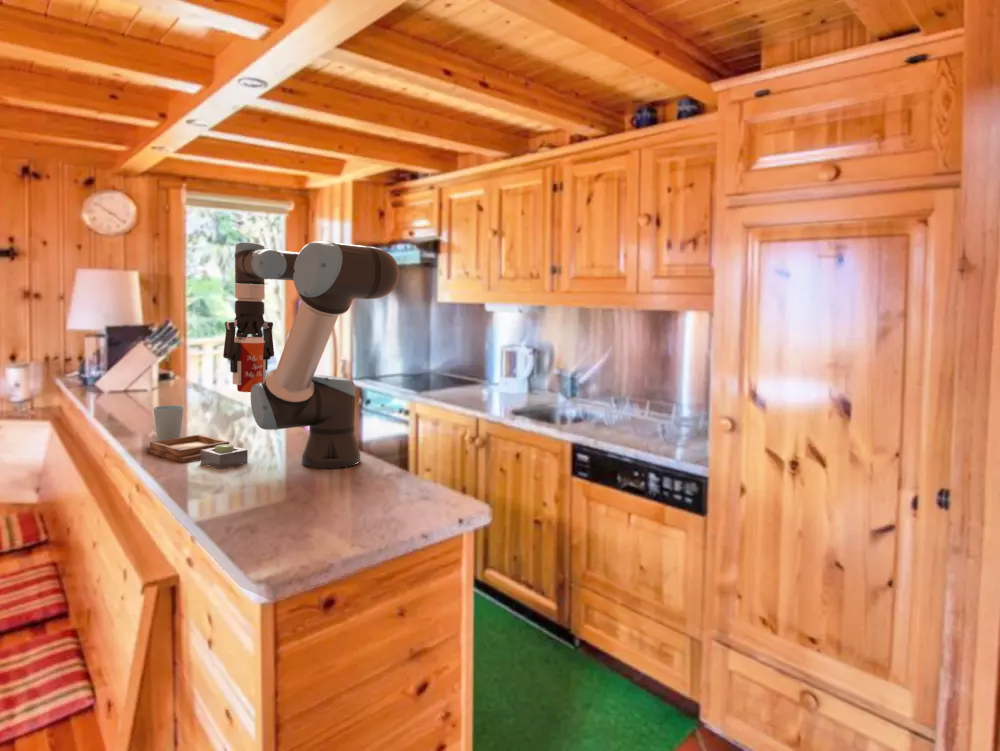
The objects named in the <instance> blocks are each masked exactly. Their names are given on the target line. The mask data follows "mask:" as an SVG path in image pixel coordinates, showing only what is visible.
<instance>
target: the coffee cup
mask: <svg viewBox="0 0 1000 751" xmlns="http://www.w3.org/2000/svg"><path fill="white" fill-rule="evenodd" d="M238 338H239V337H236V335H235V341H234V342H237V343H241V353H240V356H239V359H238V361H241V385H236V388H237V390H236V391H237V392H240V393H251V389H252V386H253V385H254V384H258V383H262V382H261V379H262V365H263V350H264V343H265V341H264V337H263V336H262V337H254V336H252V335H248V336H247V337H245V338H244V337H242V340H240V339H238ZM240 338H241V337H240ZM244 339H245V340H244ZM240 341H241V342H240Z"/></svg>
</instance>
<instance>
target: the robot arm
mask: <svg viewBox="0 0 1000 751" xmlns="http://www.w3.org/2000/svg"><path fill="white" fill-rule="evenodd" d="M234 249H235V251H234V282H235V283H234V297H235V298H236V299H237V300H235V301H234V313H235V318H234V320H231V321H225V322H224V326H225V327H224V328H225V337H224V347H223V353H222V354H223V355H222V356H223V358H224V359H227V360H228V361H229V363H230V364H229V365H230V366H229V368H230V369H229V371H230V373H232V384H233V385H236V386H237V385H241V361H238V359H239V356H240V353H241V343H237V342H234V341H235V336H236V337H239V338H238V339H240V340H242V337H244V338H245V337H247V336H249V335H250V336H254V337H263V338H264V341H265V343H264V350H263V365H262V379H261V383H258V384H254V385H253V386H252V389H251V392H250V406H251V412H252V416H253V419H254V421H255V423H256V425H257V426H258V428H261V429H262V430H266V431H268V430H270V431H273V430H275V431H277V430H282V429H283V430H285V429H293V428H301V427H303V428H304V427H309V433H308V437H307V440H306V444H305V447H304V450H303V452H302V455H301V463H302V465H304V466H306V467H311V468H314V469H315V468H317V469H325V468H333V469H342V468H341V467H345V468H347V467H346V466H350V465H353V464H355V463H357V462H359V461H360V462H361V451H360V450H359V446H358V442H357V438H356V435H355V422H356V421H355V418H356V417H355V416H356V415H355V413H356V398H357V395H356V385H355V382H354V381H353V380H351V379H349V378H345V377H339V376H332V375H324V374H316V370H317V368H318V367H319V363H320V361H321V360H322V359H321V358H322V357H323V354H324V352H325V348H326V347H327V344H328V341H329V339H330V337H331V335H332V332H333V330H334V328H335V325H336V322H337V320H338V318H339V316H341V315H343V314H345V313H347V312H348V311H349V309H350V306H351V304H352V302H353V301H354V299H357V300H358V299H359V300H374V299H380V298H384V297H386V296H387V295H389V294H390V293H392V292H393V291H394V290H395V288H396V287H397V285H398V283H399V279H400V269H399V265H398V262H397V261H396V260H395V258H394V256H393V255H391V253H389V252H387V251H386V250H384V249H381V248H379V247H375V246H370V245H369V246H366V245H365V246H364V245H359V244H358V245H355V244H348V243H347V244H345V243H337V242H334V241H332V240H331V241H330V240H327V241H311V242H308V243H307V244H305V245H304V246H303V247H302V248H301V249H300V251H299V252H294V251H283V250H276V249H273V248H265V246H264V244H262V243H257V242H246V241H243V242H242V241H240V242H239V241H238V242H237V243H236V244H235V248H234ZM265 280H278V281H279V280H281V281H293V284H294V287H295V289H296V291H297V295H298V297H299V299H300V300H301V302H300V304H299V306H298V309H297V311H296V314H295V316H294V317H295V318H294V320H293V323H292V326H291V328H290V331H289V334H288V336H287V339H286V342H285V345H284V348H283V349H282V353H281V356H280V358H279V361H278V363H277V367H276V368H274V369H273V370H271V371H269V372H268V374H267V376H266V371H268V366H269V365H268V363H269V362H268V360H270V359H271V358H272V357H274V356H275V351H274V350H275V348H274V338H273V326H274V322H273V321H266V320H265V319H264V315H265V302H264V300H265V299H266V298H265V296H266V295H265V290H266V289H265V288H266V287H265V286H266V285H265ZM236 329H237V330H236ZM240 337H241V338H240ZM244 340H245V339H244ZM240 342H241V341H240ZM350 467H351V466H350Z"/></svg>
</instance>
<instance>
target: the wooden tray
mask: <svg viewBox="0 0 1000 751" xmlns="http://www.w3.org/2000/svg"><path fill="white" fill-rule="evenodd" d="M223 444H229V445H230V441H227V440H225V439H220V438H216V437H211V436H207V435H203V434H199V433H198V434H192V435H187V436H180V437H179V438H173V439H167V440H161V441H158V440H155V441H150V442H149V447H146V453H148V452H150V453H149V454H151V453H153V454H152V455H155V454H157V455H156V456H158V455H160V456H159V457H162V456H163V457H162V458H165V457H167V458H166V459H169V458H170V459H169V460H172V459H173V461H175V460H176V462H180V463H182V464H183V463H184V464H185V463H190V462H195V461H199V460H200V461H201V450H203V449H209V448H214V447H215V446H217V445H223Z"/></svg>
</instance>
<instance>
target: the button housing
mask: <svg viewBox="0 0 1000 751" xmlns="http://www.w3.org/2000/svg"><path fill="white" fill-rule="evenodd" d="M233 446H234V445H233ZM248 451H249V450H248V449H247V448H242V447H239V446H234V451H230V452H225V453H219V452H215V447H214V448H209V449H203V450H201V460H200V464H202V465H206V466H209V467H213V468H215V469H219V470H220V469H225V468H231V467H235V466H239V465H244V464H248V462H249V461H248V457H249V456H248V453H249V452H248Z"/></svg>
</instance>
